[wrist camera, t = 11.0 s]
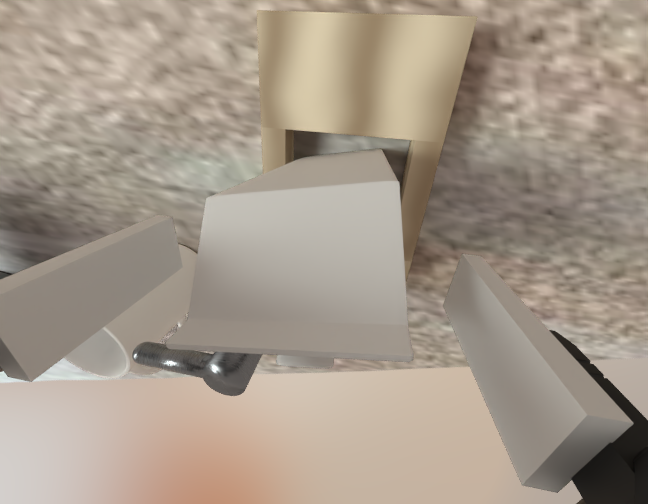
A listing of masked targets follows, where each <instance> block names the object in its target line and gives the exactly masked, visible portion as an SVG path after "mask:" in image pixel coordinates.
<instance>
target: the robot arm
mask: <svg viewBox="0 0 648 504" xmlns="http://www.w3.org/2000/svg"><path fill="white" fill-rule="evenodd" d="M181 268H183V265H182V260H181V256H180V251H179V246H178V241H177V237H176V232H175V227H174V223H173V218H172V217H170V216H162V215H156V216H154V217H151V218H149V219H146V220H144V221H141V222H139V223H137V224H134V225H132V226H129V227H127V228H124V229H122V230H120V231H117V232H115V233H112V234H110V235H107V236H105V237H103V238H100V239H98V240H95V241H93V242H90V243H88V244H86V245H83V246H81V247H78V248H76V249H73V250H71V251H68V252H66V253H64V254H61V255H59V256H56V257H54V258H51V259H49V260H47V261H44V262H42V263H39V264H37V265H34V266H32V267H30V268H27V269H25V270H22V271H20V272H17V273H15V274H13V275H9V274H6V273H3V272H0V372H2V371H4V372H5V373H6V375H7V376H8V377H11V378H16V379H21V380H25V381H30V382H32V381H33V380H34V379H36V378H37V377H38V376H40V375H41V374H42V373H44V372H45V371H46V370H48V369H49V368H50V367H52V366H53V365H54V364H56V363H57V362H58V361H60V360H61V359H62V358H63V357H65V356H66V355H67V354H69V353H70V352H71V351H73V350H74V349H75V348H77V347H78V346H79V345H81V344H82V343H83V342H85V341H86V340H87V339H89V338H90V337H91V336H93V335H94V334H95V333H97V332H98V331H99V330H101V329H102V328H103V327H105V326H106V325H107V324H108V323H110V322H111V321H112V320H114V319H115V318H116V317H118V316H119V315H120V314H122V313H123V312H124V311H126V310H127V309H128V308H130V307H131V306H132V305H134V304H135V303H136V302H138V301H139V300H140V299H142V298H143V297H144V296H146V295H147V294H148V293H149V292H151V291H152V290H153V289H155V288H156V287H157V286H159V285H160V284H161V283H163V282H164V281H165V280H167V279H168V278H169V277H171V276H172V275H173V274H175V273H176V272H177V271H179V270H180V269H181ZM443 307H444V309H445V311H446V314H447V316H448V318H449V321H450V323H451V325H452V327H453V330H454V332H455V334H456V336H457V339H458V341H459V343H460V346H461V348H462V350H463V352H464V355H465V357H466V359H467V361H468V364H469V366H470V368H471V370H472V373H473V375H474V377H475V380H476V382H477V384H478V386H479V389H480V391H481V393H482V395H483V397H484V400H485V402H486V404H487V407H488V409H489V411H490V414H491V416H492V418H493V421H494V423H495V425H496V427H497V430H498V432H499V434H500V436H501V439H502V441H503V443H504V445H505V448H506V450H507V452H508V455H509V457H510V459H511V461H512V464H513V466H514V468H515V470H516V473H517V475H518V477H519V480H520V482H521V484H522V485H524V486H528V487H533V488H538V489H542V490H547V491H552V492H557V493H558V492H559V491H560V490H561V489H562V488H563V487H564V486H566V485H567V484H568V483H569V482H570V481H571V480H572V481H573V482H574V484H575V485H576V487H577V489H578V491H579V492H580V494H581V496H582V498H583V499H581V500H580V501H579V502H578V503H577V504H648V420H647V419H646V418H645V417H644V416H643V415H642V414H641V413H640V412H639V411H638V410H637V409H636V408H635V407H634V406H633V405H632V404H631V403H630V402H629V400H628V399H627V398H626V397H624V395H623V394H622V393H621V392H620V391H619V390H618V389H617V388H616V387H615V386H614V385H613V384H612V383H611V382H610V381H609V380H608V379H607V378H604V377H603V374H602V373H601V372H600V371H599V370H598V369H597V368H596V366H594V364H590V360H589V359H588V358H587V357H586V356H585V355H584V354H583V353H582V352H581V351H580V350H579V349H578V348H577V347H576V346H575V345H574V344H572V343H571V342H570V341H568V340H567V339H565V338H564V337H563V336H561V335H560V334H558V333H557V332H556V331H552V330H548V329H547V328H546V327H545V325H544V324H543V323H542V322H541V321H540V320H539V319H538V318H537V317H536V316H535V314H534V313H533V312H532V311H531V310H530V309H529V308H528V307H527V306H526V305H525V304H524V302H523V301H522V300H521V299H520V298H519V297H518V296H517V295H516V294H515V293H514V291H513V290H512V289H511V288H510V287H509V286H508V285H507V284H506V283H505V282H504V281H503V279H502V278H501V277H500V276H499V275H498V274H497V273H496V272H495V271H494V270H493V268H492V267H491V266H490V265H489V264H488V263H487V262H486V261H485V260H484V259H483V258H482V256H477V255H469V254H462V255H461V258H460V260H459V263H458V266H457V269H456V271H455V274H454V277H453V280H452V282H451V285H450V288H449V290H448V293H447V296H446V299H445V301H444V304H443Z"/></svg>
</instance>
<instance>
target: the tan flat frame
mask: <svg viewBox="0 0 648 504" xmlns="http://www.w3.org/2000/svg"><path fill="white" fill-rule="evenodd" d="M476 21H477V17H476V16H441V15H405V14H369V13H334V12H298V11H263V10H257V32H258V58H259V84H260V110H261V137H262V163H263V174H264V173H267V172H269V171H272V170H274V169H276V168H279V167H281V166H283V165H286V164H288V163H291V162H293V161H294V130H300V131H312V132H323V133H335V134H347V135H359V136H370V137H382V138H394V139H405V140H411V141H410V146H409V150H408V155H407V160H406V164H405V169H404V174H403V179H402V183H401V188H400V200H401V216H402V233H403V249H404V265H405V281H407V278H408V274H409V270H410V266H411V263H412V259H413V255H414V252H415V248H416V244H417V240H418V237H419V233H420V229H421V226H422V222H423V218H424V214H425V211H426V207H427V203H428V199H429V196H430V192H431V188H432V185H433V181H434V177H435V173H436V170H437V166H438V162H439V158H440V155H441V151H442V147H443V144H444V140H445V136H446V132H447V129H448V125H449V121H450V118H451V114H452V110H453V106H454V103H455V99H456V95H457V91H458V88H459V84H460V80H461V77H462V73H463V69H464V65H465V62H466V58H467V54H468V50H469V47H470V43H471V39H472V36H473V32H474V28H475V24H476Z"/></svg>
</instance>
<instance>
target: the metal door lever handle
mask: <svg viewBox="0 0 648 504" xmlns="http://www.w3.org/2000/svg"><path fill="white" fill-rule="evenodd" d="M261 356H262V354H249V353H231V352H215V353H214V354H209V353H204V352H199V351H194V350H177V349H168V348H167V347H166V345H164V344H159V343H155V342H143V343H140V344H139V345H137V346H136V347H135V349H134V350H133V353H132V358H133V360H134V362H136V363H137V364H140V365H145V366H149V367H154V368H159V369H163V370H168V371H173V372H177V373H182V374H187V375H191V376H196V377H200V378H203V379H204V381H205V382H206V384H207V385H208V386H209V387H210V388H212V389H213V390H215V391H217V392H219V393H221V394H224V395H230V396H236V395H240V394H242V393H243V392H244V391H245V389H246V387H247V385H248V383H249V381H250V379H251V377H252V375H253V372H254V370H255V368H256V366H257V364H258V362H259V360H260V358H261Z"/></svg>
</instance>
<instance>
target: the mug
mask: <svg viewBox="0 0 648 504" xmlns="http://www.w3.org/2000/svg"><path fill="white" fill-rule="evenodd" d="M178 246H179V251H180V256H181V260H182V265H183V268H181V269H180V270H179V271H177V272H176V273H175V274H173V275H172V276H171V277H169V278H168V279H167V280H165V281H164V282H163V283H161V284H160V285H159V286H157V287H156V288H155V289H153V290H152V291H151V292H149V293H148V294H147V295H146V296H144V297H143V298H142V299H140V300H139V301H138V302H136V303H135V304H134V305H132V306H131V307H130V308H128V309H127V310H126V311H124V312H123V313H122V314H120V315H119V316H118V317H116V318H115V319H114V320H112V321H111V322H110V323H108V324H107V325H106V326H105V327H103V328H102V329H101V330H99V331H98V332H97V333H95V334H94V335H93V336H91V337H90V338H89V339H87V340H86V341H85V342H83V343H82V344H81V345H79V346H78V347H77V348H75V349H74V350H73V351H71V352H70V353H69V354H67V355H66V356H65V357H63V358H65V359H66V360H67V361H69V362H70V363H71V364H73V365H75V366H76V367H78V368H80V369H82V370H83V371H86V372H88V373H90V374H93V375H96V376H99V377H103V378H112V379H113V378H120V377H123V376H125V375H126V374H127V373H128V372H129V373H132V374H136V375H149V374H153V373H156V372H159V371H161V370H162V369H159V368H154V367H145V366H143V365H140V364H137V363H136V362H134V360H133V358H132V353H133V350H134V349H135V347H136V346H137V345H139V344H140V343H143V342H155V343H158V342H159V341H160V340H161V339H162V338H163V337H164V336H165V335H166V334H167V333H168V332H169V331H170V330H171V329H172V328H173V327H174V326H175V325H176V324H177V323H178V326H179V328H180V327H181V326H182V325H183V324H184V323H185V322H186V317H185V315H186V314H187V313H188V312H189V306H190V299H191V293H192V286H193V280H194V274H195V267H196V261H197V253H195V252H194V251H193V250H191V249H189V248H187V247H185V246H183V245H180V244H178Z"/></svg>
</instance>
